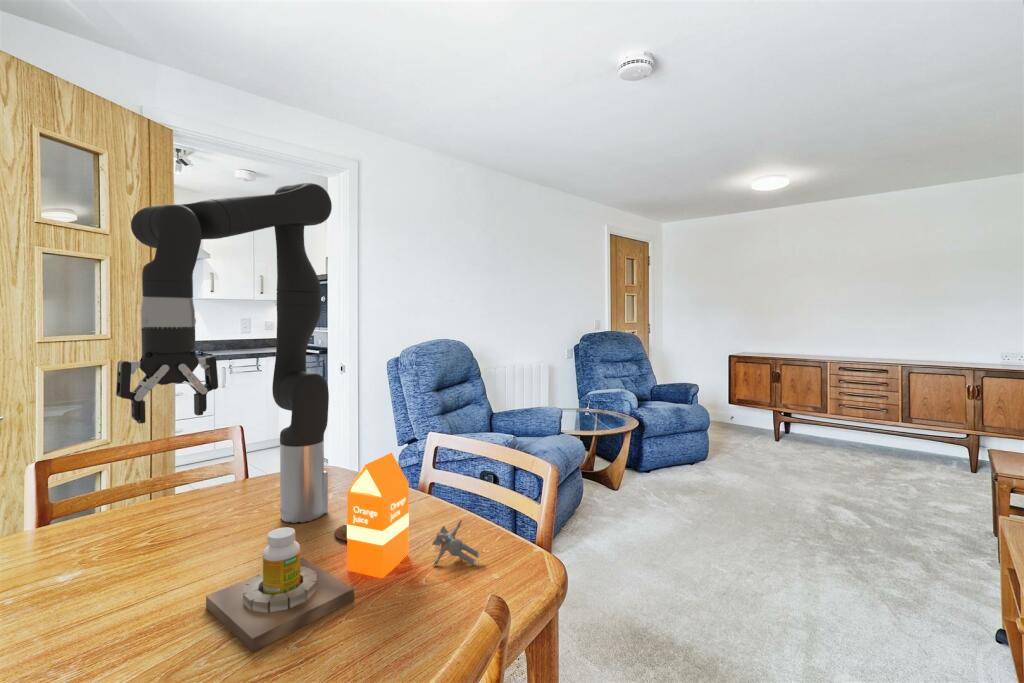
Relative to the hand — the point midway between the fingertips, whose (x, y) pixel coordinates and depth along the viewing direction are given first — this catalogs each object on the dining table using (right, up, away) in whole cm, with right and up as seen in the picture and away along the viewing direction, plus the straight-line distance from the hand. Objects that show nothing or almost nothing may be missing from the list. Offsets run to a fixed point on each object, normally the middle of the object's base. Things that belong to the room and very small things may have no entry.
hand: (170, 418), depth 84 cm
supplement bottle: (+22, -27, -6) cm, 35 cm away
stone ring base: (+22, -29, -6) cm, 37 cm away
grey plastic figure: (+48, -29, +10) cm, 57 cm away
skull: (+27, -28, +21) cm, 44 cm away
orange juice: (+34, -29, +8) cm, 45 cm away
